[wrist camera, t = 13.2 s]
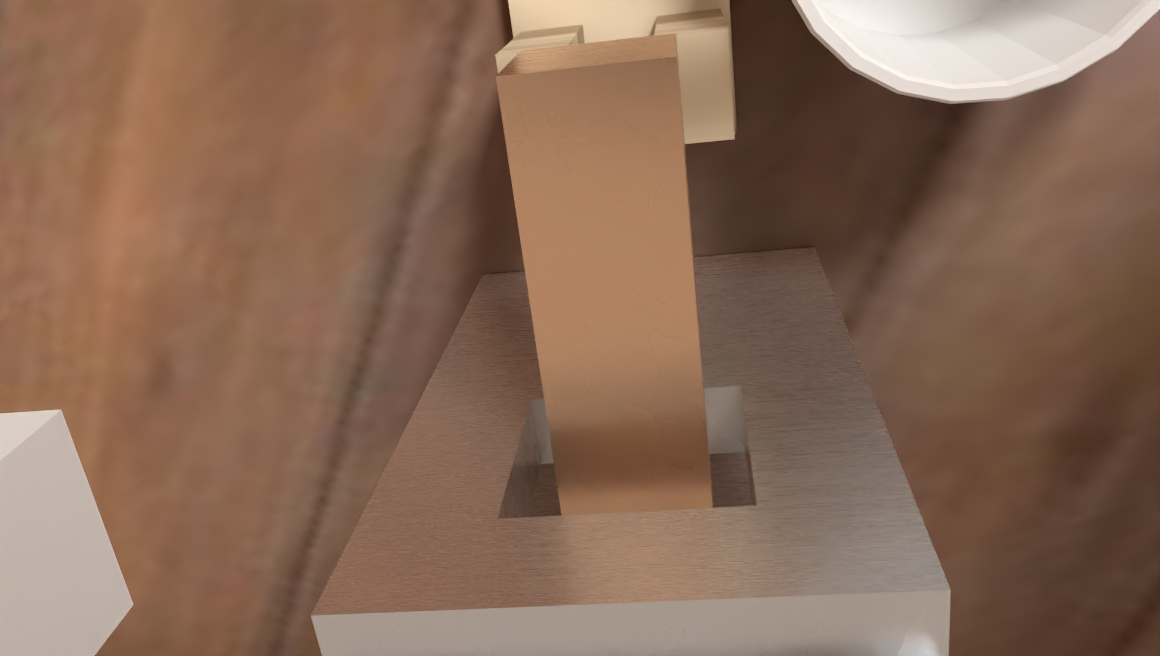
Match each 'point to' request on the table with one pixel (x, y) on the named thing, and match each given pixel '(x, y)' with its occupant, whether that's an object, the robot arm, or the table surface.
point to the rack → (637, 9)
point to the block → (610, 270)
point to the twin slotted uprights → (649, 538)
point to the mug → (972, 42)
